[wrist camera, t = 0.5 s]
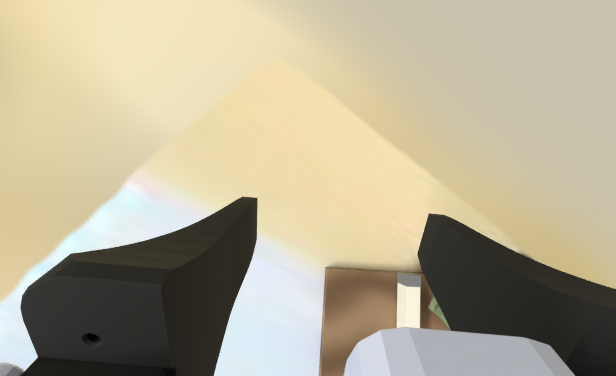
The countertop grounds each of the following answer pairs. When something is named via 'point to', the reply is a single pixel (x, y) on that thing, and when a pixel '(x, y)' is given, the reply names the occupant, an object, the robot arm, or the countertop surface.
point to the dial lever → (408, 300)
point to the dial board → (364, 312)
